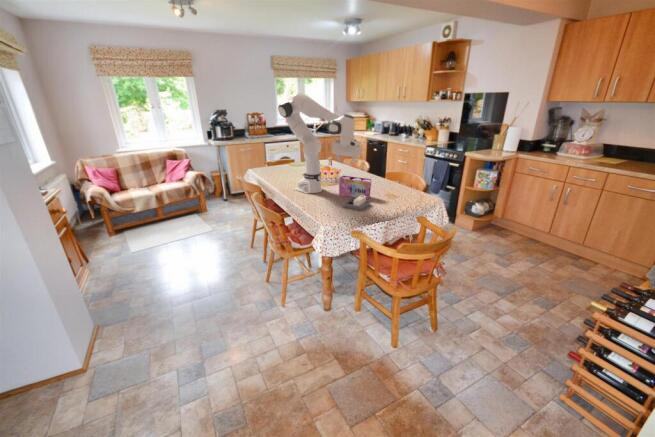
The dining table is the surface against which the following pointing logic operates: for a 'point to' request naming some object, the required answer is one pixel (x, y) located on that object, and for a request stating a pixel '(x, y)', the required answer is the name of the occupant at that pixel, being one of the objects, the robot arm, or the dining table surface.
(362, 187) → the gum box
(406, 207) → the dining table surface
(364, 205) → the keyhole plate
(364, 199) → the beige block
